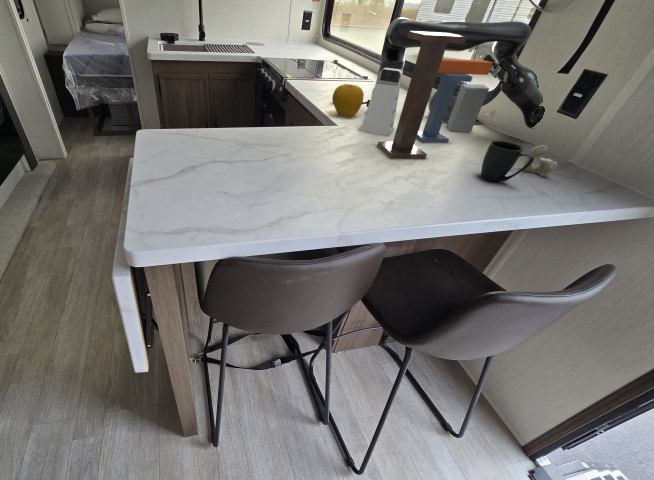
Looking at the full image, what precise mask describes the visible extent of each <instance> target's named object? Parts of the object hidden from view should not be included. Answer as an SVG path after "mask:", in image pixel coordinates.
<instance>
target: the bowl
mask: <svg viewBox="0 0 654 480" xmlns="http://www.w3.org/2000/svg"><path fill="white" fill-rule="evenodd" d="M436 92H437V90H436V91H435V92H434V94H433V95H432V96H431V97H430V99H429V101H428V105H427V107H428V109H427V110H428V111H429V112H430V110H431V107H432V104H433V101H434V98H435V95H436ZM458 93H459V91H456V90H454V93H453V96H452V98H451V101H450V104H449V107H448V109H447V112H446V115H445V117H444V120H445V121H446V120H448V121H449V118H450V115H451V112H452V110H453V107H454V104H455V102H456V99H457V96H458Z"/></svg>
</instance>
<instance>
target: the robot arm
mask: <svg viewBox="0 0 654 480" xmlns="http://www.w3.org/2000/svg"><path fill="white" fill-rule="evenodd" d="M409 31H419V32H438V33H450V34H455V35H460V36H465V37H467V39H466V41H465V44H460V43H447V46H446V49H445V52H456V53H457V52H464V51H468V50H470V49H473V48H476V47H478V46H481V45H483V44H487V43H493V45H492V48H491V51H492V55H493V57H494V58H495V59H496V60H495V59H494V58H493V57H492V55H490V54H486V55H485V56H484V57H483V58H482V60H484V61H489V62H493V64H492V66H491V69H490V71H489V74H490V75H492V77H493V78H495V79H497V80H498V81H500V82H501V84H500V91H501V92H502V93H503V94H504V95H505V96H506V97H507V99H508V100H510V102H512V104H514V105H515V106H516V107H517V108H518V109H519V110H520V111H521V113H522V116H523V121H524V123H525V126H526V127H527V128H529V129H533V128H532V127H534V126H535V125H536V124H537V123H538V122H540V120H541V119H542V118H543V115H544V112H545V108H544V107H543V106H539V105H540V104H541V103H543V95H542V93H541V91H540V90H539V85H538V81H537V76H536V74H535V73H534V72H533V71H532V70H533V69H532V70H530V69H531V68H530V69H528V68H529V67H527V66H525V65H523V64H522V65H523V66H522V65H521V62H520V61H519V60H518V61H519V62H520V63H519V62H518V61H517V58H518V55H517V53H518V52H519V51H520V49H521V48H522V47H523V46H524V45H525V44H526V42H527V41H528V40H529V38H530V37H531V33H532V28H531V27H530V25H529V24H527V23H526V22H523V21H517V20H516V21H515V20H512V21H511V20H510V21H498V22H497V21H496V22H474V21H466V20H465V21H464V20H446V21H445V20H444V21H439V22H431V23H430V22H422V21H416V20H412V19H409V18H406V17H397V18H395V19H394V20H392V21H391V22H390V24H389V25H388V27H387V28H386V32H385V36H384V41H383V44H382V50H381V54H380V64H379V67H378V73H377V77H376V81H375V84H376V83H377V81H378V77H379V72H380V71H381V70H382V69H383V70H382V72H381V77H380V80H382V81H389V82H396V83H399V79H400V76H401V74H400V72H399V71H395V70H387V69H384V68H392V69H400V70H401V71H402V72H403V70H404V66H405V56H406V51H407V49H411V48H420V46H421V43H422V41H419V40H415V39H411V38H407V36H408V33H409ZM516 55H517V56H516ZM524 66H525V67H524ZM526 67H527V68H526ZM373 91H374V88H372V92H371V95H370V98H368V99H367V101H363V102H362V105H361V106H363V105H365V107H366V108H368V105H369V102H370V100H371V97H372V94H373ZM332 105H334V104H333V102H332Z"/></svg>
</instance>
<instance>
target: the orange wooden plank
mask: <svg viewBox="0 0 654 480" xmlns="http://www.w3.org/2000/svg"><path fill="white" fill-rule="evenodd" d="M492 64H493V62H489V61H484V60H483V59H482V60H481V59H460V58H459V59H458V58H457V59H455V58H442V61H441V64H440V67H439V70H438V73H449V74H467V75H477V76H478V75H480V76H488V75H489V74H490V72H489V71H490V69H491V66H492Z"/></svg>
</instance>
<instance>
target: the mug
mask: <svg viewBox="0 0 654 480" xmlns="http://www.w3.org/2000/svg"><path fill="white" fill-rule="evenodd" d="M523 150H524V148H523V146H521V145H519V144H517V143H514V142H510V141H505V140H492V141H490V143H489V145H488V147H487V149H486V152H485V154H484V157H483V160H482V164H481V169H480V175H479V176H480V178H481V179H482V180H484V181H487V182H491V183H500V182H507V181H509V180H511V179H512V178H514V177H515V176H517V175H518V174H520V173H521V172H524V171H523V170H525V169H526V168H527V167H529V166H530V165H531V164H532V165H533V163H534V161H535V158H534V157H533V156H531V155H529V153H523ZM520 157H525V158H527V157H528V158H529V159H530V160H529V162H528V163H527V164H526V165H525V166H524V165H523V166H524V167H521V169H519V170H517V171H515V172H514V173H513V174H510V175H508V173H509V172H510V171H511V170H512V168H513V167H514V166H515V165H516V163H517V162H518V159H519V158H520Z"/></svg>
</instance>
